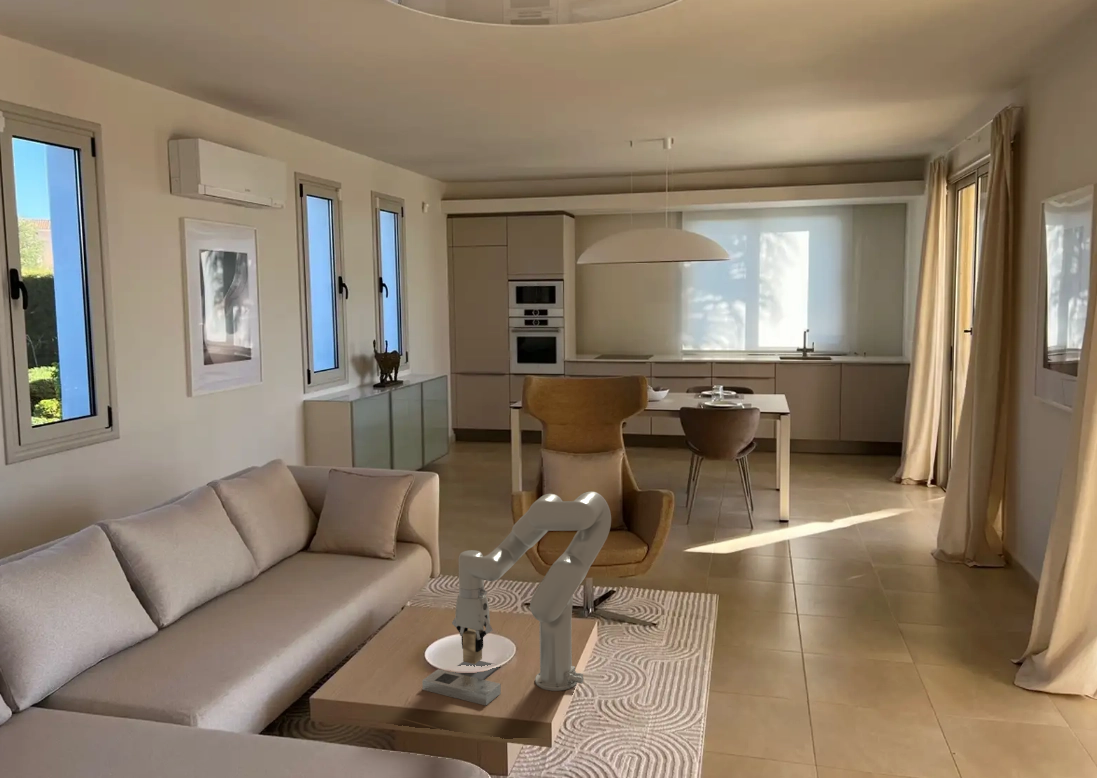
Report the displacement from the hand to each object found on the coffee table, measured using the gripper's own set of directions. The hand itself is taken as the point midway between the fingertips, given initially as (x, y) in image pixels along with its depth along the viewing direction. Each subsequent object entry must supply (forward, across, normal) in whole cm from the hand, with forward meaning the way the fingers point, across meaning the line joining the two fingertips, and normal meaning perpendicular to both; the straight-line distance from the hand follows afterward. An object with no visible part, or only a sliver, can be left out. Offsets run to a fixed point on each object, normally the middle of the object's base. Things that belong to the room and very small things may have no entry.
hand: (472, 648), depth 259 cm
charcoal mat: (+7, 0, 0) cm, 7 cm away
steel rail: (+7, -4, +13) cm, 15 cm away
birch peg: (+4, 0, 0) cm, 4 cm away
